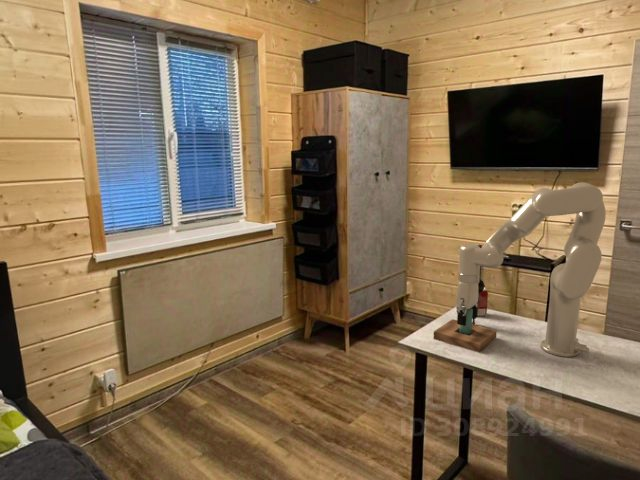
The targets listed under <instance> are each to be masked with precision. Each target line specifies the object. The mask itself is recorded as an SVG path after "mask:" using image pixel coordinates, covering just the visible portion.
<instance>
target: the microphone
mask: <svg viewBox="0 0 640 480" xmlns="http://www.w3.org/2000/svg"><path fill="white" fill-rule="evenodd" d="M484 288H486V285H485V282H484V280H483V279H481V278H479V283H478V294H479V295H480V293H481V292H482V291H483V290H484ZM477 305H479V297H478V303H477ZM477 315H478V307H477ZM477 318H478V317H476V318H473V317H472V324H473V325H476V322H475V321H476V320H475V319H477Z"/></svg>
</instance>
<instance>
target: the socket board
mask: <svg viewBox="0 0 640 480" xmlns="http://www.w3.org/2000/svg"><path fill="white" fill-rule="evenodd" d="M459 328H460V325H459V324H457V319H454V318H453V319H450V320H449V321H447V322H446V323H444V324H442V325H441V326H440V327H438V328H437V329H435V330H433V340H436V341H440V342H443V343H446V344H450V345H454V346H457V347H460V348H463V349H466V350H470V351H473V352H477V353H480V352H482V350H484V349H485V348H486V347H487V346H489V345H490V344H491V343H492V342H494V341H495V340H496V339H497V334H498V333H497V332H498V331H497V330H495V329H491V328H488V327H484V326H480V325H476V324H475V325H473V324H472V330H471V335H470V336H468V335H465V334H461V333H459Z"/></svg>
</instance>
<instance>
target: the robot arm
mask: <svg viewBox="0 0 640 480" xmlns="http://www.w3.org/2000/svg"><path fill="white" fill-rule="evenodd" d="M603 198H604V195H603V192H602V191H601V189H600V188H599V187H597V186H595V185H593V184H591V183H589V182H588V183H587V182H585V181H584V182H577V183H575V184H572V185H571V186H570V187H568V188H562V189H552V188H548V187H542V188H539V189H538V190H536V191H535V192H534V193H532V195H530V197H529V198H528V199H527V200H526V201H525V202H523V204H522V205H521V206H520V207H519V208H518V210H516V211H515V212H514V214H513V215H512V216H511V217H509V219H507V220H506V221H505V222H504V223H503V225H501V226H500V227H499V228H498V229H497V230H496V231H495V232H493V234H491V236H490V237H489V238H488V239H487V240H486V241H485V243H484V244H483V245H482V247H480V246H479V245H478V244H473V243H472V244H471V243H469V244H468V243H467V244H461V245H460V246H459V250H458V271H457V273H458V275H457V276H458V279H457V281H458V284H457V288H456V297H455V308H456V315H457V316H456V317H457V318H456V320H457V324H459V325H463V326H465V325H466V315H465V314H466V311H467V310H468V309H470V308H472V309H473V315H472V317H473V318H476V317H477V307H478V305H477V303H478V297H479V294H478V283H479V279H481V278H480V277H481V276H480V275H481V274H480V271H481V267H485V268H490V269H494V268H498V267H500V266H502V264H503V262H504V253H505V252H506V251H507V249H509V248H510V247H511V246H512V245H513V244H514V243H515V242H516V241H518V240H520V239H522V238H525V237H528V236H529V235H531V234H532V232H534V230H536V229H537V227H538V226H539V225H540V224H541V223H542V222H543V221H544V220H545V219H546V218H548V217H555V216H556V217H557V216H566V215H575V214H576V216H575V219H574V223H573V225H572V229H571V231H570V233H569V236H568V238H567V241H566V243H565V245H564V248H563V253H564V255H565V257H566V260H565V262H564V263H561V264H558V265H556V266H555V267H554V268H553V270H552V272H551V273H550V281H549V282H550V283H549V284H550V285H549V286H550V289H549V290H550V291H549V304H548V310H547V311H548V313H547V323H546V333H545V339H543V340H542V341H541V342H540V344H539V346H540V349H542V350H543V351H545V352H547V353H549V354H551V355H554V356H558V357H565V358H567V357H568V358H569V357H577V356H578V355H579V354H580V352H582V353H585V354H589V352H590V347H588V345H586V344H585V343H580V342H579V338H577V333H578V325H579V316H580V309H581V298H584V297H585V295H586V294H587V293H588V292H589V289H591V286H592V283H593V281H594V279H595V277H596V274H597V272H598V270H599V267H600V265H601V262H602V256H603V255H602V250H601V248H600V246H599V245H598V242H599V239H600V238H601V234H602V231H603V228H604V226H605V222H606V216H607V214H606V207H605V203H604V199H603ZM461 309H464V312H463V311H462V310H461ZM477 318H478V317H477ZM477 318H476V319H477Z"/></svg>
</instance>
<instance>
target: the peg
mask: <svg viewBox="0 0 640 480" xmlns="http://www.w3.org/2000/svg"><path fill="white" fill-rule="evenodd" d="M461 310H462V311H463V312H464V309H461ZM465 315H466V325H465V326H463V325H460V328H459V333H461V334H465V335H468V336H470V335H471V330H472V322H473V319H472V315H473V309H472V308H470V309H468V310H467V311H466V314H465Z"/></svg>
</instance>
